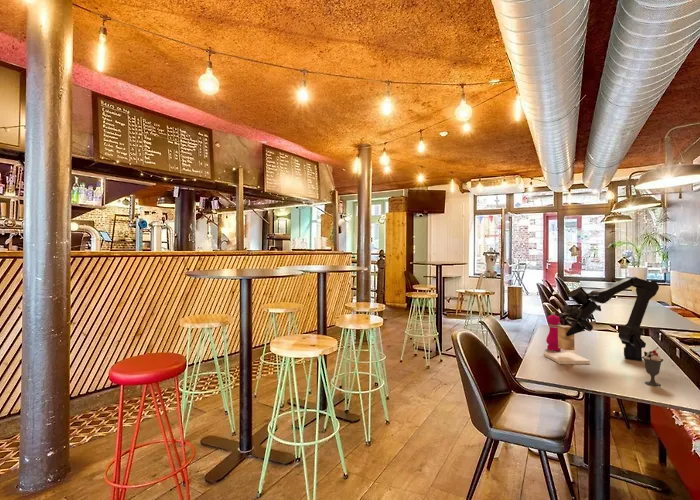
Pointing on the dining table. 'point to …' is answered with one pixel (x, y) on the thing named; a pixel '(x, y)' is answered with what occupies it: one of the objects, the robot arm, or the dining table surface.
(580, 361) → the plate
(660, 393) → the dining table surface
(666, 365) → the dining table surface
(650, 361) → the sundae
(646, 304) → the robot arm
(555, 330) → the pepper mill
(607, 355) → the dining table surface
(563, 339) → the oak block
